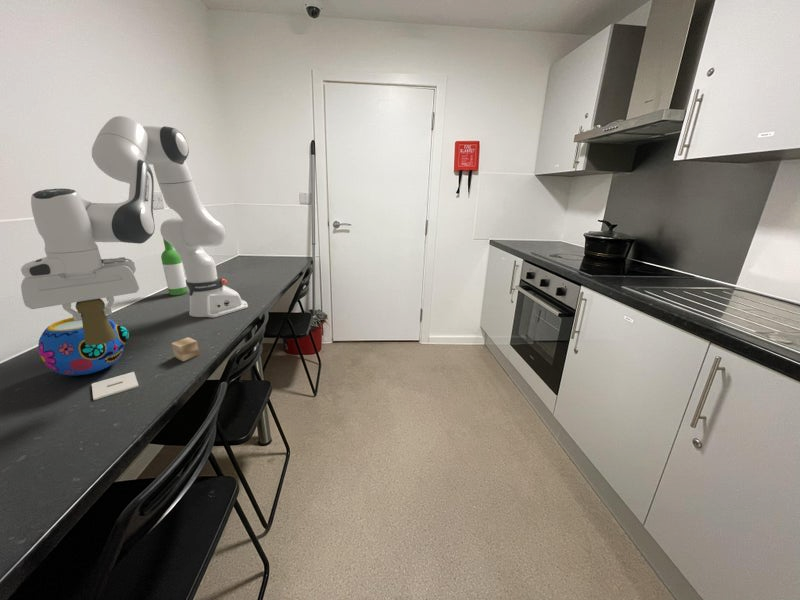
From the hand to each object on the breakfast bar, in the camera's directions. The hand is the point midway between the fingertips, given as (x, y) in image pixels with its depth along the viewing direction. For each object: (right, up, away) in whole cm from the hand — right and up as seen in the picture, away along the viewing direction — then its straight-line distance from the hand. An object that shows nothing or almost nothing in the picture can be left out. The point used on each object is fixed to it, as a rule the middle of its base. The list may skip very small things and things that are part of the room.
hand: (93, 316), depth 81 cm
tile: (0, -19, +7) cm, 20 cm away
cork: (0, -6, +2) cm, 7 cm away
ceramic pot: (-14, -16, +14) cm, 26 cm away
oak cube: (+9, -14, +22) cm, 28 cm away
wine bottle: (-34, +7, +81) cm, 88 cm away
